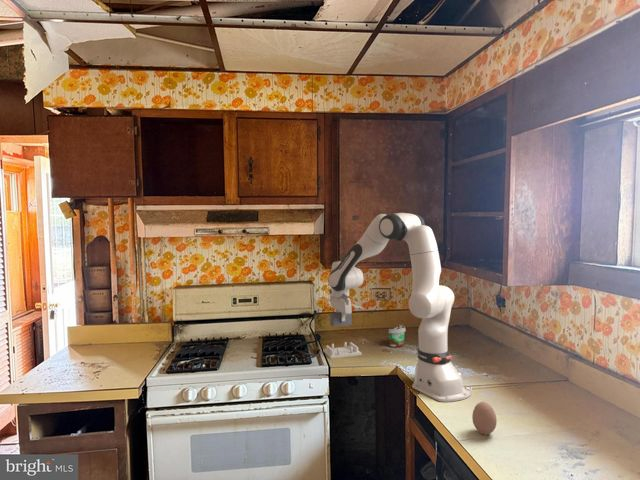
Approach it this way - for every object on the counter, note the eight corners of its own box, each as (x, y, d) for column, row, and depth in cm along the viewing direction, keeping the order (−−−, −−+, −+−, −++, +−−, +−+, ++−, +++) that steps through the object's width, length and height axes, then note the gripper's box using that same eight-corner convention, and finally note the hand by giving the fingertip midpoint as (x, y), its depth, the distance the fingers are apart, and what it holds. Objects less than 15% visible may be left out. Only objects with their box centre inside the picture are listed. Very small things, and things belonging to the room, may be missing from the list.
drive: (352, 324, 194) (352, 312, 194) (333, 326, 191) (332, 313, 191) (349, 322, 198) (349, 310, 198) (330, 324, 195) (330, 312, 195)
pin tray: (361, 354, 192) (361, 346, 192) (331, 359, 187) (330, 350, 187) (352, 347, 203) (352, 340, 203) (323, 351, 198) (323, 343, 198)
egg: (490, 427, 122) (489, 396, 121) (500, 439, 115) (500, 406, 115) (468, 428, 122) (468, 397, 121) (478, 440, 115) (478, 407, 114)
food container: (399, 350, 197) (399, 330, 197) (388, 348, 201) (388, 329, 201) (409, 343, 207) (409, 325, 207) (399, 342, 211) (399, 323, 210)
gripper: (354, 295, 185) (355, 324, 186) (339, 288, 204) (339, 314, 205) (342, 296, 183) (342, 325, 184) (327, 289, 203) (328, 315, 203)
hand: (341, 319), depth 195 cm, fingers closed on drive, 4 cm apart
